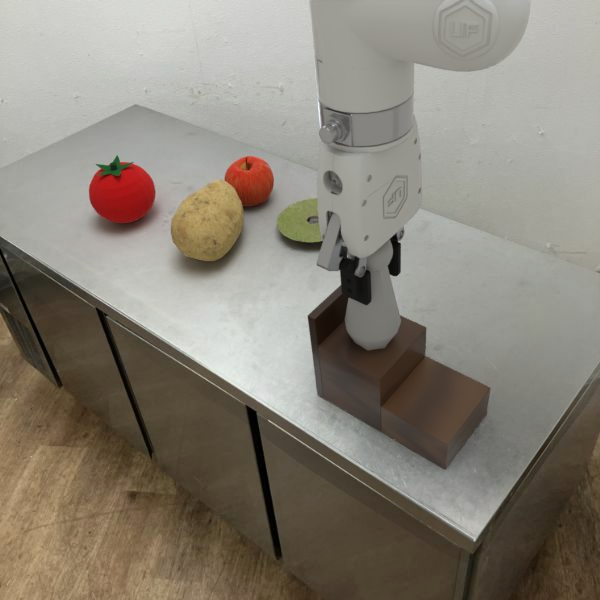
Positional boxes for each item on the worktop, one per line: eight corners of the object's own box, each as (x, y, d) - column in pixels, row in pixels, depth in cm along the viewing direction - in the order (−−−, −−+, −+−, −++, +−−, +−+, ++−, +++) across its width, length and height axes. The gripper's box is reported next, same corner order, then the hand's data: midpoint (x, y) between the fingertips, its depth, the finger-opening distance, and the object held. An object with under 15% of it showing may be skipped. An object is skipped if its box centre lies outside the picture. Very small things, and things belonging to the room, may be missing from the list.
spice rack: (486, 413, 71) (499, 331, 63) (445, 469, 67) (453, 389, 58) (361, 349, 80) (357, 269, 71) (317, 395, 76) (307, 315, 67)
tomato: (152, 191, 112) (136, 139, 105) (169, 221, 105) (154, 168, 98) (92, 211, 109) (73, 159, 102) (106, 243, 102) (86, 189, 95)
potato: (160, 262, 97) (144, 209, 91) (224, 212, 105) (213, 161, 99) (209, 284, 92) (195, 231, 86) (272, 231, 100) (264, 178, 94)
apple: (276, 184, 110) (270, 141, 104) (276, 211, 104) (270, 168, 98) (230, 188, 110) (221, 146, 105) (227, 216, 104) (218, 173, 99)
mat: (363, 216, 100) (363, 206, 99) (331, 259, 94) (330, 248, 92) (300, 202, 105) (299, 191, 104) (265, 241, 98) (263, 231, 97)
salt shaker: (409, 328, 70) (411, 231, 61) (385, 364, 66) (383, 266, 57) (361, 311, 72) (357, 216, 63) (335, 345, 69) (327, 249, 60)
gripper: (339, 175, 45) (351, 351, 58) (461, 81, 54) (448, 252, 67) (261, 148, 49) (288, 318, 62) (386, 64, 58) (387, 228, 70)
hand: (371, 282), depth 64 cm, fingers closed on salt shaker, 4 cm apart
